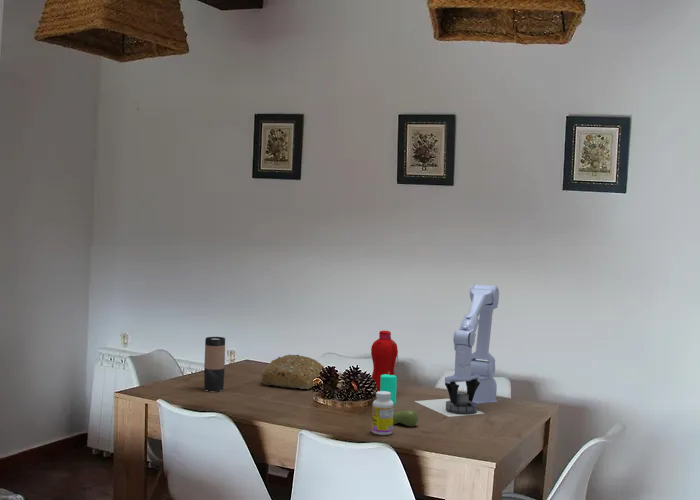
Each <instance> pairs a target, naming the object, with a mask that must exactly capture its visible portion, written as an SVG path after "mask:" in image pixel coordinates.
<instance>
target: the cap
mask: <svg viewBox="0 0 700 500" xmlns="http://www.w3.org/2000/svg"><path fill="white" fill-rule="evenodd" d="M468 400H469V394H468V393H467V392H462V391H459V392H458V391H457V399H456V403H454V404H455V405H460V406H468Z"/></svg>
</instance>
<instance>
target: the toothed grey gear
mask: <svg viewBox="0 0 700 500" xmlns="http://www.w3.org/2000/svg"><path fill="white" fill-rule="evenodd" d="M477 410H478V403H475V402H472V401H468V406H460V405H455V404H454V403H451V401H450V400H449V401H447V402H446V411H447V412H450V413H454V414H462V415H464V416H470V415H469V414H475V413H477ZM475 415H476V414H475Z"/></svg>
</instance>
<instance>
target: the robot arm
mask: <svg viewBox="0 0 700 500" xmlns="http://www.w3.org/2000/svg"><path fill="white" fill-rule="evenodd" d="M469 297H470V302H471V303H470V307H469V310H468V313H467V314H464V316H463V319H462V321H461V323H460V326H459V328H458V329H457V330H455V331H454V333H453V339H452V340H453V341H452V342H453V347H454V352H455V354H454V355H455V356H454V358H455V360H454V373H453V375H450V376H445V378H444V385H445V387H446V389H447V392H448V395H449V399H450V401H451V403H456V399H457V392H458V390H459V387H460V384H457V383H462V382H463V383H464V382H465V385H466V393H468V394H469V400H468V401H472V402H475V403H477V404H488V403H498V400H497V389H498V388H497V386H498V385H497V381H496V379H495V378H494V377H495V374H496V359H495V357H494V356H493V355H492V354H491V353H490V352H489V349H490V344H491V343H490V341H491V333H492V332H491V331H492V324H493V322H492V321H493V314H494V310H495V309H497V308H498V305H499V302H500V301H499V299H500V290H499V287H498V286H497V285H487V284H475V283H474V284H472V285H471V286H470V289H469ZM476 331H477V333H476ZM476 334H477V335H476ZM476 336H477V337H476ZM475 341H476V347H475V351H473V346H474V345H475Z"/></svg>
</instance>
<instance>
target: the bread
mask: <svg viewBox="0 0 700 500" xmlns="http://www.w3.org/2000/svg"><path fill="white" fill-rule="evenodd" d="M323 368H324V369H325V367H324V365H322V364H321V363H320V362H319V361H317V360H316V359H314V358H312V357H311V358H310V356H303V355H300V354H287V355H283V356H279V357H277V358H274V359H273V360H271V362H269V363H268V364H267V365H266V366H265V367H264V369H263V370H262V375H261V377H260V380H261V382H262V384H263V385H265V384H266V386H268V385H274V386H273V387H277V386H281V387H280V388H288V387H290V388H289V389H296V388H299V389H300V390H302V389H307V390H310V389H313V388H314V387H313V380H314V379H315V378H317V377H318V376H319V373H320V371H321V370H322V369H323ZM312 387H313V388H312ZM299 389H298V390H299Z"/></svg>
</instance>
